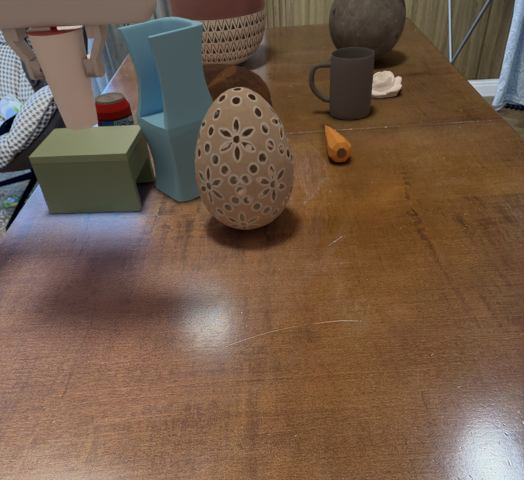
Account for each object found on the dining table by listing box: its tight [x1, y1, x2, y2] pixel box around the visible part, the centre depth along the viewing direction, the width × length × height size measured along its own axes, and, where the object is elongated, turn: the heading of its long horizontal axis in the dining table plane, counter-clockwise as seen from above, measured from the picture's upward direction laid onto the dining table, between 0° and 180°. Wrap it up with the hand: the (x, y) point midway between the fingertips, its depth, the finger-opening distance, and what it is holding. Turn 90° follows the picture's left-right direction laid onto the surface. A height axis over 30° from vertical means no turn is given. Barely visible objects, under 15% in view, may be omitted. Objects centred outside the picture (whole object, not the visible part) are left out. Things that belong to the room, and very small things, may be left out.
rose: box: [371, 70, 403, 99], centre depth 120 cm, size 10×4×10 cm
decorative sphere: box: [328, 0, 407, 62], centre depth 133 cm, size 20×20×20 cm
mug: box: [308, 47, 375, 121], centre depth 109 cm, size 14×9×12 cm
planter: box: [167, 0, 267, 66], centre depth 138 cm, size 27×27×27 cm
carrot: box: [324, 124, 352, 163], centre depth 100 cm, size 20×4×4 cm, turn 4°
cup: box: [25, 26, 98, 130], centre depth 50 cm, size 5×5×12 cm
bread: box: [203, 64, 272, 116], centre depth 117 cm, size 28×27×9 cm
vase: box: [117, 16, 220, 203], centre depth 83 cm, size 10×10×25 cm
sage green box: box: [28, 124, 156, 215], centre depth 87 cm, size 16×12×10 cm
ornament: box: [195, 87, 295, 231], centre depth 74 cm, size 15×15×20 cm
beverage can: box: [94, 91, 135, 127], centre depth 97 cm, size 7×7×12 cm
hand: (68, 77), depth 51 cm, fingers closed on cup, 4 cm apart
